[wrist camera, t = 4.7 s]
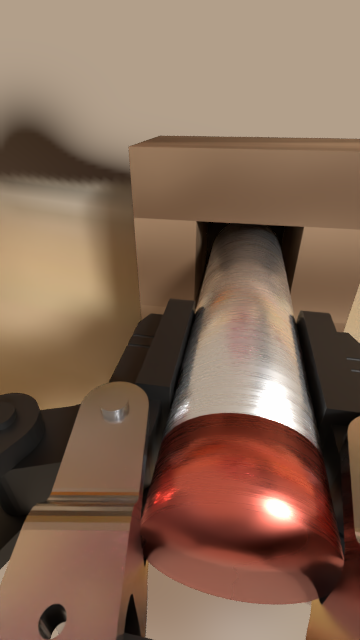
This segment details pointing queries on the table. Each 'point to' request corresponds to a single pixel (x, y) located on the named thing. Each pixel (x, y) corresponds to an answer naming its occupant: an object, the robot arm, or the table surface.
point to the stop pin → (243, 443)
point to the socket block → (248, 213)
